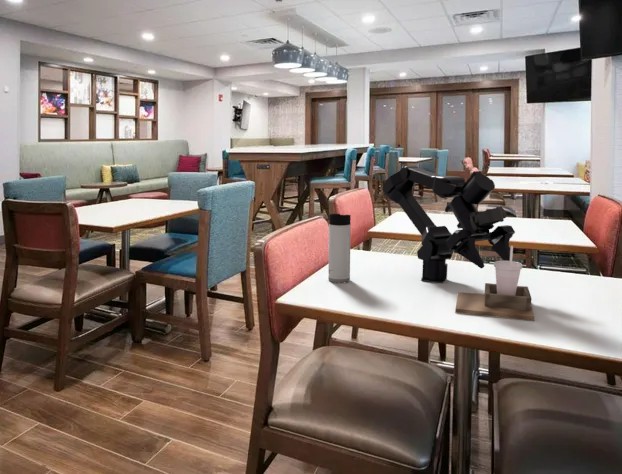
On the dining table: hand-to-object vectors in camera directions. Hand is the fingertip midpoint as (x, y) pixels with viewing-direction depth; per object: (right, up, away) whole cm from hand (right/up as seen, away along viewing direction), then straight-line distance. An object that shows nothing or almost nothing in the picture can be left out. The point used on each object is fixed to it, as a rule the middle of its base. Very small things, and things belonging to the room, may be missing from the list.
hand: (496, 265), depth 120 cm
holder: (-2, -10, -3) cm, 10 cm away
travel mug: (-38, -6, +21) cm, 44 cm away
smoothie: (+1, -9, -2) cm, 9 cm away
